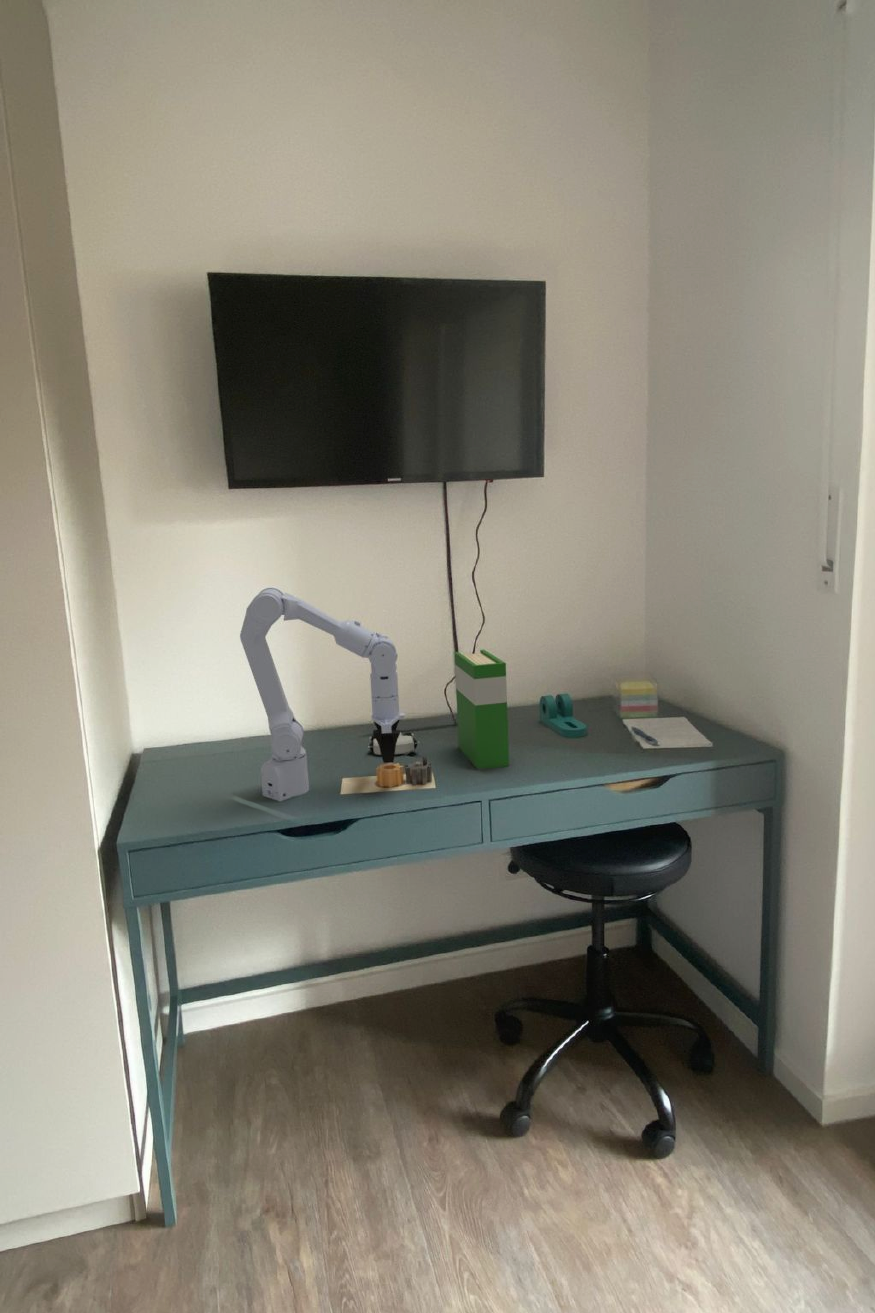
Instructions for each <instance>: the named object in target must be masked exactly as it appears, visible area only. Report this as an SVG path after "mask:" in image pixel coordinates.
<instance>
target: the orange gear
mask: <svg viewBox="0 0 875 1313" xmlns="http://www.w3.org/2000/svg"><path fill="white" fill-rule="evenodd" d="M375 768H376V769H375V770H376V776H377V784H380V786H381V787H383V786H389V787H393V786H396V785H398V786H399V785H401V782H404V778H403V774H404V765H401V763H398V762H396V763H392V762H390V763H385V764H379V765H378V766H377V767H375Z"/></svg>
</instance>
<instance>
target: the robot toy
mask: <svg viewBox="0 0 875 1313" xmlns="http://www.w3.org/2000/svg"><path fill="white" fill-rule="evenodd" d="M368 739H369V740H370V741H371V742H370V743H369V745H367V749H369V751H370V752H372V753H374V755H376V756H377V755H378V756H381V752H380V748H379V745H378V742H377V740H376V738H375V737H374V735H371V736H369V738H368ZM418 745H420V741H417V739H416V738H415V737H414V733H412V732H409V731H408V732H405V733H404V734H402V732H401V731H400V735H399V737H398V739H397V743H396V747H395V755H403V756H408V755H409V754H410V753H413V752H414V750H416V749H417V747H418Z"/></svg>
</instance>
